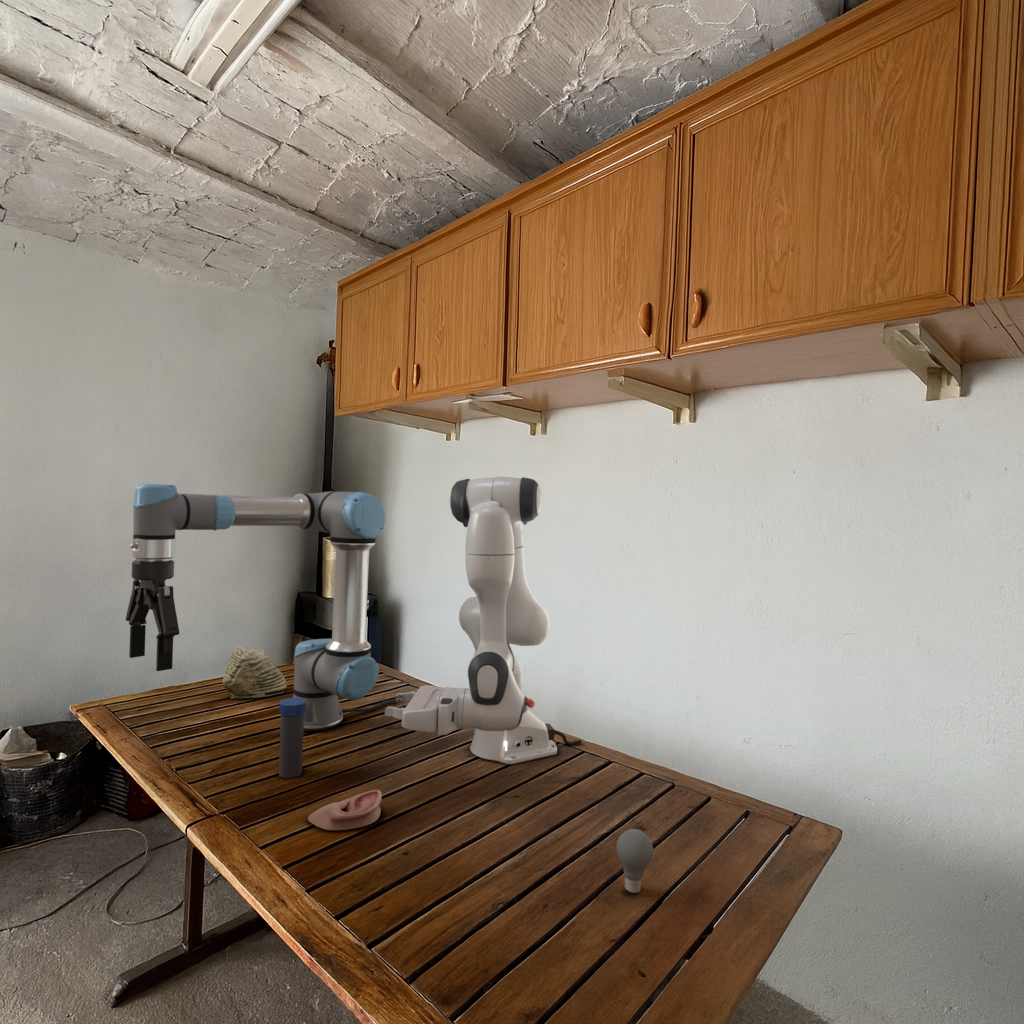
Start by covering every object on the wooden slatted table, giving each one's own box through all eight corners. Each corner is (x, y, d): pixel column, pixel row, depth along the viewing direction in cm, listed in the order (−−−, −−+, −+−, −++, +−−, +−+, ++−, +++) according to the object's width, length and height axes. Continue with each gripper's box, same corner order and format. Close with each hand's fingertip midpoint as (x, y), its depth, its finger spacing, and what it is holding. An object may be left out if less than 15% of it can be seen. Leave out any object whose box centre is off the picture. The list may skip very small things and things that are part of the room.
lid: (308, 714, 143) (309, 703, 143) (281, 717, 140) (281, 706, 140) (303, 706, 148) (303, 696, 148) (276, 709, 145) (277, 699, 145)
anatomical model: (300, 805, 121) (329, 780, 132) (299, 826, 121) (328, 798, 133) (364, 815, 119) (388, 788, 130) (363, 836, 119) (387, 807, 130)
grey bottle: (303, 775, 143) (306, 705, 143) (280, 779, 141) (283, 708, 141) (299, 767, 148) (302, 698, 147) (276, 770, 145) (279, 701, 145)
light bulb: (610, 879, 108) (613, 822, 108) (644, 879, 109) (647, 822, 109) (619, 902, 102) (622, 840, 102) (655, 901, 103) (658, 840, 103)
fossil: (218, 695, 195) (220, 647, 195) (278, 685, 208) (279, 640, 207) (228, 703, 189) (230, 653, 188) (289, 692, 201) (290, 645, 201)
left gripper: (110, 554, 134) (107, 654, 134) (159, 566, 118) (155, 679, 119) (148, 553, 140) (145, 648, 140) (200, 564, 124) (196, 672, 124)
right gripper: (459, 680, 152) (402, 677, 153) (445, 708, 132) (379, 704, 133) (458, 706, 152) (401, 703, 153) (443, 738, 132) (378, 733, 133)
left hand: (150, 663), depth 129 cm, fingers open, 13 cm apart
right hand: (391, 703), depth 143 cm, fingers open, 8 cm apart
